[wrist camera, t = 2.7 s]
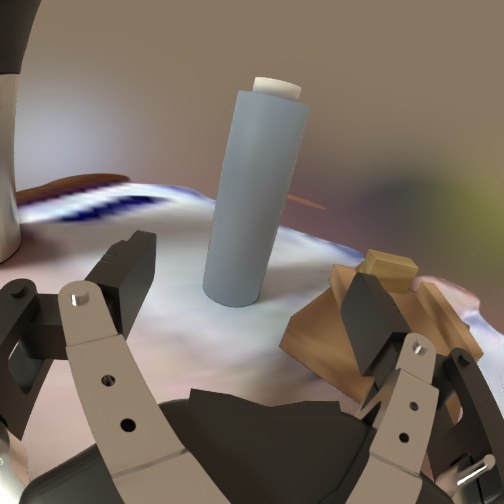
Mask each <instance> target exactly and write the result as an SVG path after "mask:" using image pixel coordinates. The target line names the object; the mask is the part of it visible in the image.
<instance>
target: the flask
mask: <svg viewBox="0 0 504 504" xmlns="http://www.w3.org/2000/svg"><path fill="white" fill-rule="evenodd" d="M300 91H301V87H299V86H297V85H294V84H291V83H288V82H284V81H280V80H275V79H270V78H263V77H256V78H255V82H254V87H253V91H252V92H248V91H239V92H238V97H237V101H236V106H235V110H234V115H233V120H232V124H231V129H230V134H229V138H228V143H227V148H226V153H225V159H224V163H223V168H222V174H221V179H220V184H219V190H218V195H217V201H216V206H215V212H214V218H213V224H212V229H211V235H210V242H209V248H208V254H207V260H206V267H205V274H204V280H203V289H204V292H205V293H206V295H207V296H208V297H209V298H211V299H212V300H213V301H215V302H217V303H219V304H222V305H225V306H229V307H244V306H248V305H251V304H253V303H254V302H255V301H256V300H257V299H258V296H259V293H260V290H261V286H262V283H263V279H264V276H265V272H266V269H267V265H268V262H269V258H270V255H271V251H272V248H273V244H274V241H275V237H276V234H277V230H278V226H279V223H280V219H281V215H282V212H283V208H284V205H285V201H286V197H287V194H288V190H289V186H290V182H291V179H292V175H293V171H294V168H295V164H296V160H297V156H298V153H299V149H300V145H301V141H302V137H303V134H304V130H305V126H306V122H307V118H308V114H309V110H310V107H309V106H306V105H304V104H301V103H298V100H299V95H300Z"/></svg>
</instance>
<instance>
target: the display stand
mask: <svg viewBox="0 0 504 504" xmlns="http://www.w3.org/2000/svg"><path fill="white" fill-rule="evenodd" d="M418 269H419V268H418V267H417V266H416V265H415V264H414V262H413V261H412V260H411V259H409V258H405V257H400V256H396V255H392V254H388V253H384V252H379V251H375V250H371V249H369V251H368V253H367V255H366V258H365V260H364V262H362V263H361V264H359V265H358V266H357V267H356V268H353V267H347V266H342V265H337V264H335V265H334V267H333V270H332V272H331V274H330V277H329V279H328V280H329V283H330V285H331V287H330V288H329V289H328V290H327V291H325V292H324V293H323V294H321V295H320V296H319V297H317V298H316V299H315V300H313V301H312V302H311V303H309V304H308V305H307V306H305V307H304V308H303V309H301V310H300V311H299V312H297V313H296V314H294V315H293V316H292V317H291V318H290V321H289V323H288V326H287V328H286V331H285V333H284V335H283V338H282V340H281V343H280V345H279V347H280V348H282V349H283V350H284V351H286V352H287V353H288V354H290V355H291V356H292V357H294V358H295V359H296V360H298V361H299V362H301V363H302V364H303V365H305V366H306V367H308V368H309V369H310V370H312V371H313V372H314V373H316V374H317V375H319V376H320V377H322V378H323V379H324V380H326V381H327V382H329V383H330V384H332V385H333V386H334V387H336V388H337V389H339V390H340V391H342V392H343V393H345V394H346V395H348V396H349V397H351V398H352V399H354V400H355V401H357V402H358V403H360V404H361V402H362V400H363V398H364V396H365V394H366V392H367V390H368V388H369V386H370V384H371V383H372V382H373V380H374V377H361V374H360V371H359V368H358V365H357V362H356V359H355V355H354V352H353V349H352V347H351V344H350V341H349V338H348V335H347V332H346V329H345V326H344V323H343V321H342V318H341V313H340V311H341V304H342V302H343V299H344V297H345V295H346V293H347V291H348V289H349V287H350V284H351V282H352V280H353V278H354V276H355V274H356V273H358V272H361V273H366V274H372V275H375V276H376V277H377V279H378V280H379V282H380V284H381V285H382V287H383V289H384V290H386V291H387V292H388V293H389V294H390V295H391V296H392V298H393V300H394V301H395V303H396V306H398V308H399V310H400V313H402V315H403V317H404V318H405V320H406V322H407V324H408V325H409V327H410V329H411V331H412V333H417V334H420V335H422V336H424V337H426V338H427V339H428V340H429V341H430V342H431V343H432V344H433V346H434V347H435V350H436V353H437V354H441V355H444V356H448V355H449V353H450V352H451V351H452V349H453V348H456V347H459V348H462V349H464V350H466V351H467V352H468V353H470V354H471V356H472V357H473V358H474V360H475V362H476V363H477V362H478V360H479V359H480V358H481V357H482V355H483V354H484V353H483V352H482V350H481V348H480V347H479V345H478V344H477V342H476V341H475V339H474V338H473V336H472V335H471V333H470V332H469V328H470V326H469V325H467V324H466V323H464V322H463V321H462V320H461V319H460V317H459V316H458V315H457V313H456V312H455V311H454V309H453V308H452V306H451V305H450V304H449V302H448V301H447V300H446V298H445V297H444V296H443V294H442V293H441V292H440V291H439V289H438V288H437V287H436V286H435V284H433V283H428V282H423V281H422V282H421V284H420V286H419V288H418V290H417V291H416V292H415V291H413V290H411V289H410V288H409V286H410V285H411V283H412V281H413V279H414V277H415V275H416V273H417V271H418ZM446 406H447V409H448V411H449V414H450V417H451V419H452V422H453V425H454V426H455V425H456V424H457V422H458V417H459V412H460V407H461V404H460V401H459V399H458V396H457V394H456V393H455V394H454V395H453V396H452V397H451V398H450V399H449V400H448V401H447V402H446Z"/></svg>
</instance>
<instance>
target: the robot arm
mask: <svg viewBox="0 0 504 504" xmlns="http://www.w3.org/2000/svg"><path fill="white" fill-rule="evenodd" d="M40 2H41V0H0V263H1V262H3V261H4V260H6V259H7V258H9V257H10V256H11V255H12V254H13V253H14V252H15V251H16V250H17V248H18V247H19V245H20V243H21V233H20V226H19V219H18V211H17V200H16V188H15V171H14V131H15V113H16V101H17V100H16V99H17V92H18V84H19V77H20V75H19V74H20V71H21V65H22V60H23V56H24V53H25V50H26V46H27V43H28V39H29V35H30V32H31V28H32V25H33V21H34V18H35V16H36V13H37V10H38V7H39V5H40ZM155 258H156V234H155V233H150V232H145V231H139V230H137V231H136V232H135V233H134V234H133V235H132V236H131V238H130V239H129V240H128V241H124V240H121V241H120V242H118V243H116V244H114V245H112V246H111V247H110V248H109V250H108V251H107V252H106V254H104V256H103V257H102V258H101V260H100V261H99V262H98V263H97V264H96V265H95V267H94V268H93V269H92V271H91V272H90V273H89V274H88V276H87V277H86V278H85V279H84V281H74V282H71V283H69V284H67V285H65V286H64V287H63V288H62V289H61V290H60V292H59V294H38V292H37V289H36V285H35V284H34V282H32V281H31V280H29V279H15V280H12V281H10V282H9V283H7V284H6V285H4V286H3V288H2V289H1V290H0V504H504V419H503V417H502V415H501V412H500V410H499V408H498V406H497V403H496V401H495V399H494V397H493V395H492V393H491V391H490V389H489V387H488V385H487V383H486V381H485V379H484V377H483V375H482V373H481V371H480V369H479V367H478V365H477V364H476V362H475V360H474V358H473V357H472V356H471V354H470V353H468V352H467V351H466V350H464V349H462V348H459V347H456V348H453V349H452V351H451V352H450V353H449V355H448V356H444V355H441V354H437V353H436V350H435V347H434V346H433V344H432V343H431V342H430V341H429V340H428V339H427V338H426V337H424V336H422V335H420V334H417V333H412V331H411V329H410V327H409V325H408V324H407V322H406V320H405V318H404V317H403V315H402V313H400V310H399V308H398V306H396V303H395V301H394V300H393V298H392V296H391V295H390V294H389V293H388V292H387V291H386V290H384V289H383V287H382V285H381V284H380V282H379V280H378V279H377V277H376V276H375V275H372V274H366V273H361V272H358V273H356V274H355V276H354V278H353V280H352V282H351V284H350V287H349V289H348V291H347V293H346V295H345V297H344V299H343V302H342V304H341V311H340V313H341V318H342V321H343V323H344V326H345V329H346V332H347V335H348V338H349V341H350V344H351V347H352V349H353V352H354V355H355V359H356V362H357V365H358V368H359V371H360V374H361V377H374V380H373V382H372V383H371V384H370V386H369V388H368V390H367V392H366V394H365V396H364V398H363V400H362V402H361V404H360V406H359V408H358V410H357V412H356V414H355V415H354V416H352V415H350V414H346V413H344V412H341V409H340V405H339V401H303V402H298V403H292V404H287V405H281V406H275V407H267V406H264V405H260V404H257V403H254V402H251V401H248V400H245V399H242V398H239V397H236V396H233V395H230V394H223V393H216V392H210V391H204V390H198V389H192V388H191V391H190V397H189V399H178V400H171V401H167V402H163V403H160V404H157V402H156V401H155V399H154V397H153V395H152V393H151V392H150V390H149V388H148V386H147V384H146V382H145V380H144V378H143V376H142V374H141V372H140V370H139V368H138V366H137V364H136V362H135V360H134V358H133V356H132V354H131V352H130V350H129V347H128V345H127V343H126V340H127V337H128V335H129V333H130V330H131V328H132V326H133V324H134V321H135V319H136V317H137V315H138V312H139V310H140V308H141V306H142V304H143V302H144V299H145V297H146V295H147V293H148V291H149V289H150V287H151V285H152V282H153V279H154V274H155ZM17 342H18V345H17V346H16V348H15V350H14V352H13V353H12V355H11V357H10V359H9V356H10V354H11V352H12V350H13V349H14V347H15V345H16V344H17ZM54 359H56V360H69V364H70V368H71V372H72V375H73V379H74V382H75V386H76V389H77V392H78V395H79V398H80V401H81V404H82V407H83V410H84V413H85V416H86V418H87V421H88V424H89V426H90V429H91V431H92V434H93V436H94V439H95V441H96V443H95V444H94V445H92V446H90V447H89V448H87V449H86V450H84V451H82V452H81V453H79V454H77V455H76V456H74V457H72V458H71V459H69V460H67V461H66V462H64V463H62V464H60V465H59V466H57V467H55V468H53V469H52V470H50V471H48V472H46V473H44V474H43V475H41V476H39V477H37V478H35V479H34V480H33V481H31V482H30V480H29V478H28V474H27V469H28V465H27V464H28V457H27V452H26V449H25V447H24V446H23V444H22V443H21V440H22V437H23V434H24V431H25V428H26V425H27V422H28V420H29V417H30V414H31V412H32V409H33V406H34V404H35V401H36V399H37V396H38V394H39V392H40V389H41V387H42V385H43V382H44V380H45V378H46V375H47V373H48V371H49V369H50V367H51V365H52V362H53V360H54ZM455 393H456V394H457V396H458V399H459V401H460V404H461V406H462V409H463V415H462V418H461V420H460V421H459V422H458V423H457V424H456V425H455V426H454V425H453V422H452V419H451V417H450V414H449V411H448V409H447V406H446V402H447V401H448V400H449V399H450V398H451V397H452V396H453V395H454V394H455ZM426 449H427V453H428V457H429V461H430V465H431V469H432V473H433V478H434V482H435V483H434V482H433V481H432V480H430V479H429V478H428V477H427V476H426V475H424V474H423V473H422V472H421V471H420V469H421V466H422V462H423V459H424V456H425V452H426Z"/></svg>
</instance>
